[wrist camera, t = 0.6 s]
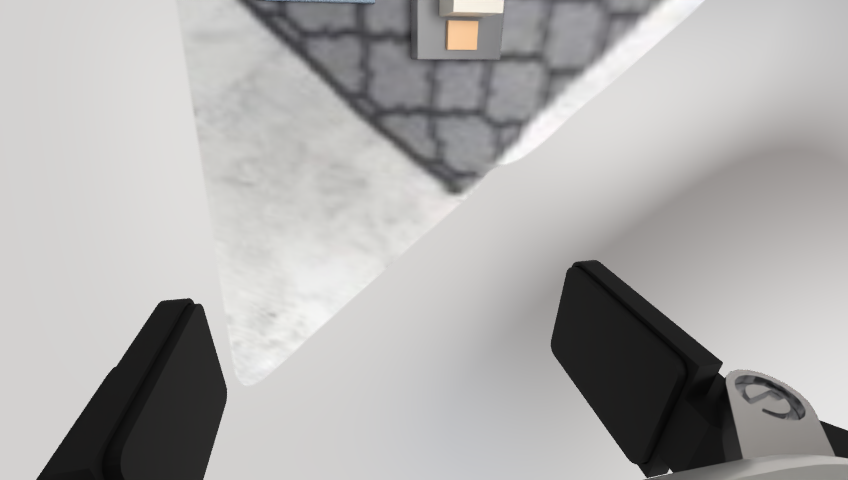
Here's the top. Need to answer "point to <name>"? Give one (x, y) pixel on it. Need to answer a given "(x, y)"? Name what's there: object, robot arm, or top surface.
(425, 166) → the top surface
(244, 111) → the top surface
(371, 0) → the mat
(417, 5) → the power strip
